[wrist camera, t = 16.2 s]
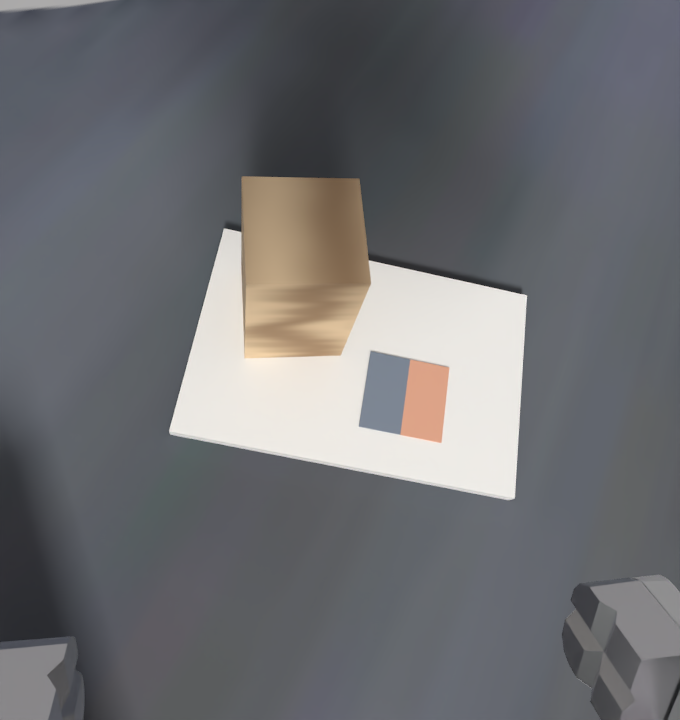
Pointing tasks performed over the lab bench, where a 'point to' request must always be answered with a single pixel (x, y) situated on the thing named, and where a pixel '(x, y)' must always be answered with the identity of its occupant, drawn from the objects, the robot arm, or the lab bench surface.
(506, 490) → the plate
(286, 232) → the oak block
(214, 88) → the lab bench surface
